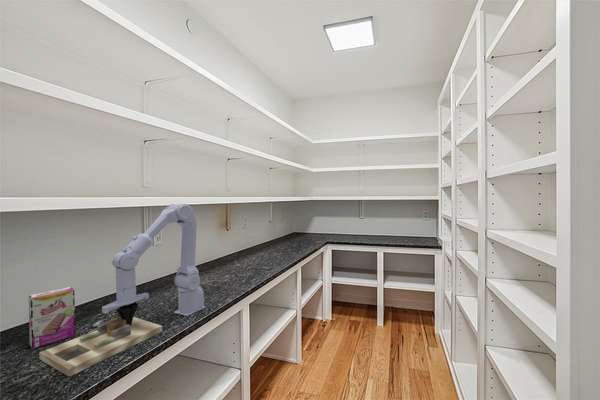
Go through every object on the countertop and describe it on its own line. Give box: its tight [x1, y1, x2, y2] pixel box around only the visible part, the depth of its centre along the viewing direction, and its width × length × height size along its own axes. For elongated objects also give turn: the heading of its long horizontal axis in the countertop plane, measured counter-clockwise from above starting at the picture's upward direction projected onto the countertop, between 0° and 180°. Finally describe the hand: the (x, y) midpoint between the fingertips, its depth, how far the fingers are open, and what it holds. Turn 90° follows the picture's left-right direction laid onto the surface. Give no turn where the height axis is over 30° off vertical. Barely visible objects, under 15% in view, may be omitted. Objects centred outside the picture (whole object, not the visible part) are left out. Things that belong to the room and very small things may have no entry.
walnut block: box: [106, 317, 126, 337], centre depth 93 cm, size 4×4×4 cm
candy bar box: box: [28, 286, 76, 350], centre depth 93 cm, size 11×5×16 cm, turn 141°
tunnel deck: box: [38, 316, 163, 377], centre depth 90 cm, size 27×18×5 cm, turn 151°
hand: (127, 326), depth 96 cm, fingers closed
